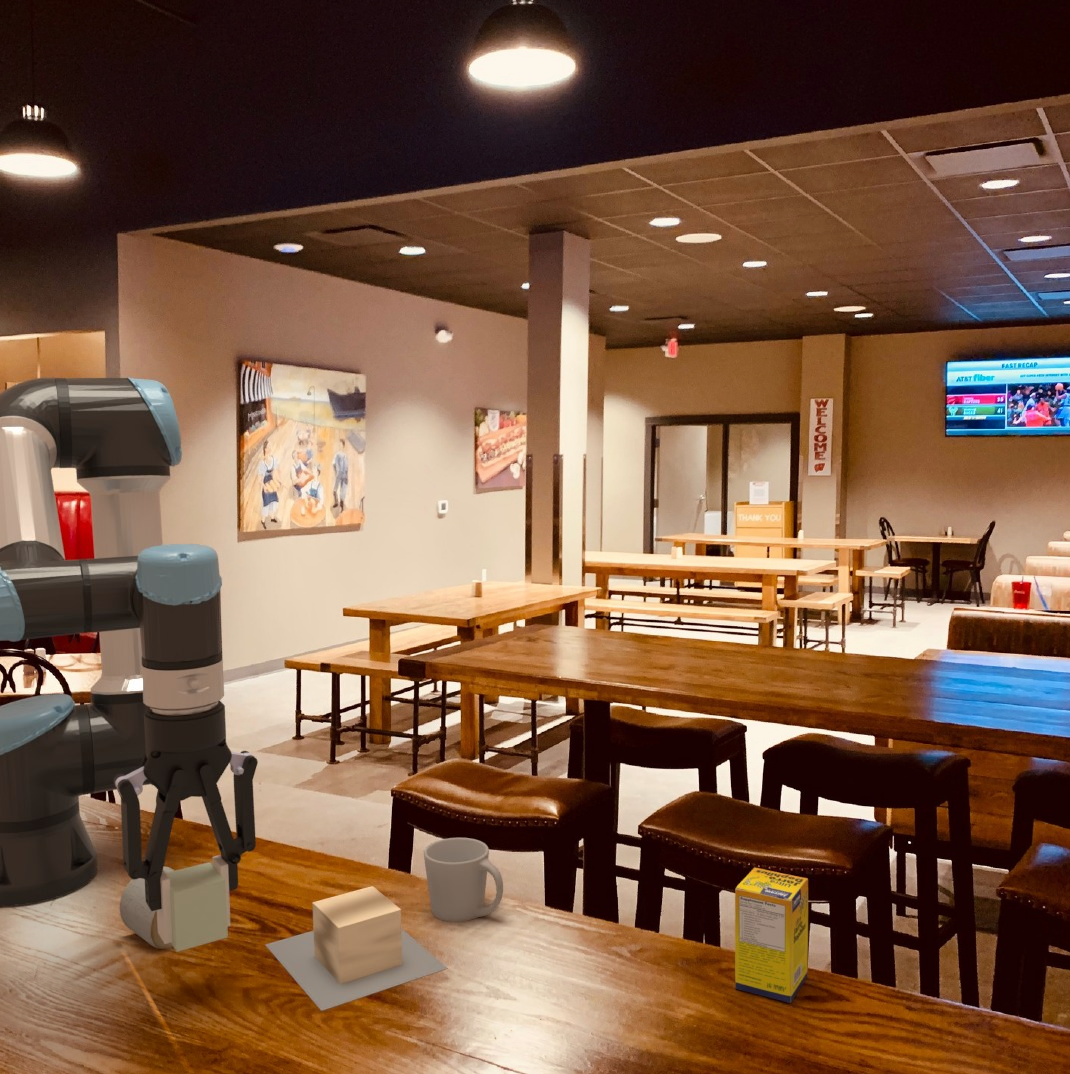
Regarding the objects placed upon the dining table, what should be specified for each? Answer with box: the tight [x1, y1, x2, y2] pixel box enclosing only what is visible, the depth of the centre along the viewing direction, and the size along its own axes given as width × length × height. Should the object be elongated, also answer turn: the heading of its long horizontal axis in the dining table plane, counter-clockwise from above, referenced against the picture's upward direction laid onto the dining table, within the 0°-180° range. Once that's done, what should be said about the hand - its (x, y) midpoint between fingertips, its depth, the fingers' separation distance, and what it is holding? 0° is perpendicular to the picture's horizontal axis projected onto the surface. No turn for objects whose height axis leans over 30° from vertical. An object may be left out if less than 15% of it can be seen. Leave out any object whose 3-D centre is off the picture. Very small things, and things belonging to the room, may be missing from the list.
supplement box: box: [734, 867, 809, 1004], centre depth 107 cm, size 6×6×11 cm
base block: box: [312, 885, 403, 984], centre depth 111 cm, size 7×7×6 cm
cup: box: [423, 837, 504, 923], centre depth 122 cm, size 8×10×8 cm
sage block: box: [166, 861, 229, 953], centre depth 104 cm, size 5×5×6 cm
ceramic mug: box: [119, 866, 175, 950], centre depth 119 cm, size 11×8×8 cm
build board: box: [265, 927, 449, 1012], centre depth 112 cm, size 16×14×1 cm
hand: (194, 928), depth 105 cm, fingers closed on sage block, 5 cm apart
